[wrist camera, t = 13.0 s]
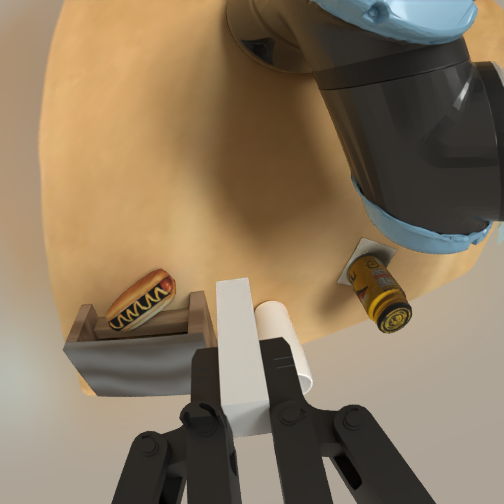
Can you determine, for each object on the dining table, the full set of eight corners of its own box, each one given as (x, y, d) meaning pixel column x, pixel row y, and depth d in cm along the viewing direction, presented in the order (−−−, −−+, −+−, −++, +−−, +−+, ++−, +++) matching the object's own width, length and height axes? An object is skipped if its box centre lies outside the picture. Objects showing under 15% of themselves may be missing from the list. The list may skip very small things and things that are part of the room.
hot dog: (186, 278, 43) (183, 301, 39) (129, 320, 46) (123, 342, 42) (161, 256, 41) (156, 277, 37) (106, 302, 44) (98, 323, 40)
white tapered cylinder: (267, 288, 46) (286, 367, 33) (299, 306, 48) (324, 381, 36) (240, 316, 48) (250, 395, 35) (272, 331, 51) (288, 406, 38)
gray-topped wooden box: (81, 305, 44) (62, 349, 35) (203, 290, 45) (202, 340, 36) (108, 352, 50) (97, 396, 42) (217, 344, 51) (219, 391, 43)
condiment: (336, 282, 47) (364, 336, 37) (361, 236, 43) (400, 285, 33) (371, 290, 49) (401, 340, 39) (396, 248, 45) (435, 295, 35)
